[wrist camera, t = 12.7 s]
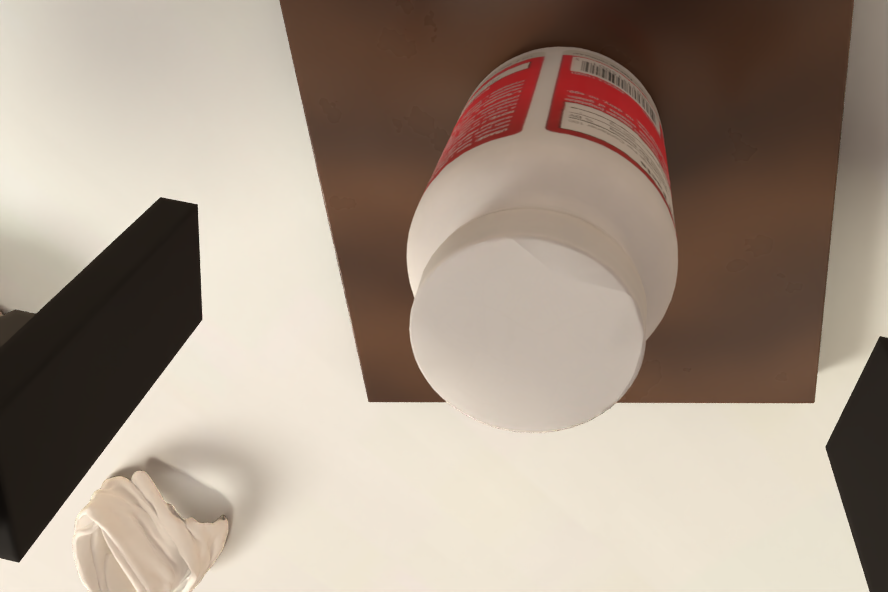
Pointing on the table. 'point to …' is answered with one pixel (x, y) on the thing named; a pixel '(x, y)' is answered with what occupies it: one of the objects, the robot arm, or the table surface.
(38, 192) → the table surface
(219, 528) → the cream folded ring
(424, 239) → the pill bottle
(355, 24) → the walnut board
